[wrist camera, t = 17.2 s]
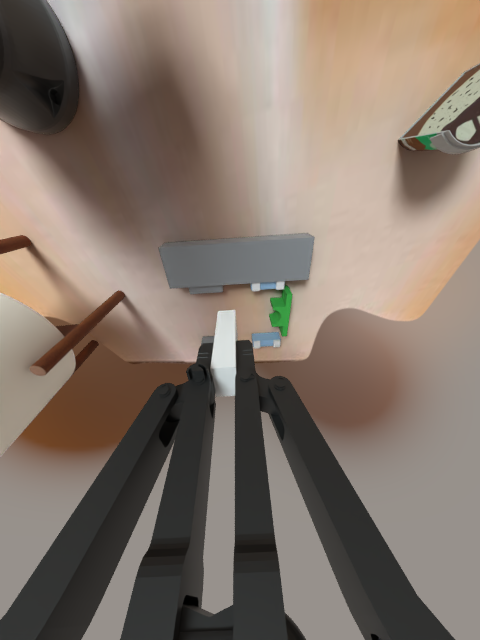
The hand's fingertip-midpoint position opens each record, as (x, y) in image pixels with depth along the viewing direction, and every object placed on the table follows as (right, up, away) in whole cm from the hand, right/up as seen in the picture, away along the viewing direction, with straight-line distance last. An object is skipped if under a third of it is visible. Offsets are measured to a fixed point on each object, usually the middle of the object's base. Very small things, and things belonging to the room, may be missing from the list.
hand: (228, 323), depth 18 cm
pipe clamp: (+10, +4, +30) cm, 32 cm away
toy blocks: (+1, +6, +28) cm, 29 cm away
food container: (+31, +30, +13) cm, 45 cm away
